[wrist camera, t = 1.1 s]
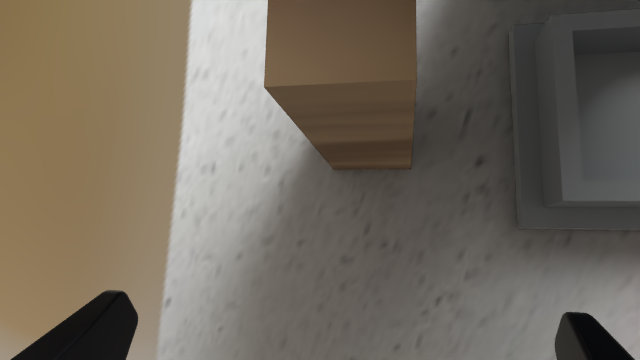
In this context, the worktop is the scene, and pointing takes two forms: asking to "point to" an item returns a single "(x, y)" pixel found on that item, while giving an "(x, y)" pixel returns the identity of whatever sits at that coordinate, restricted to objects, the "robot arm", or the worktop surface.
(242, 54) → the worktop surface
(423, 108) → the worktop surface
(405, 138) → the peg
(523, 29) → the socket
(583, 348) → the robot arm
